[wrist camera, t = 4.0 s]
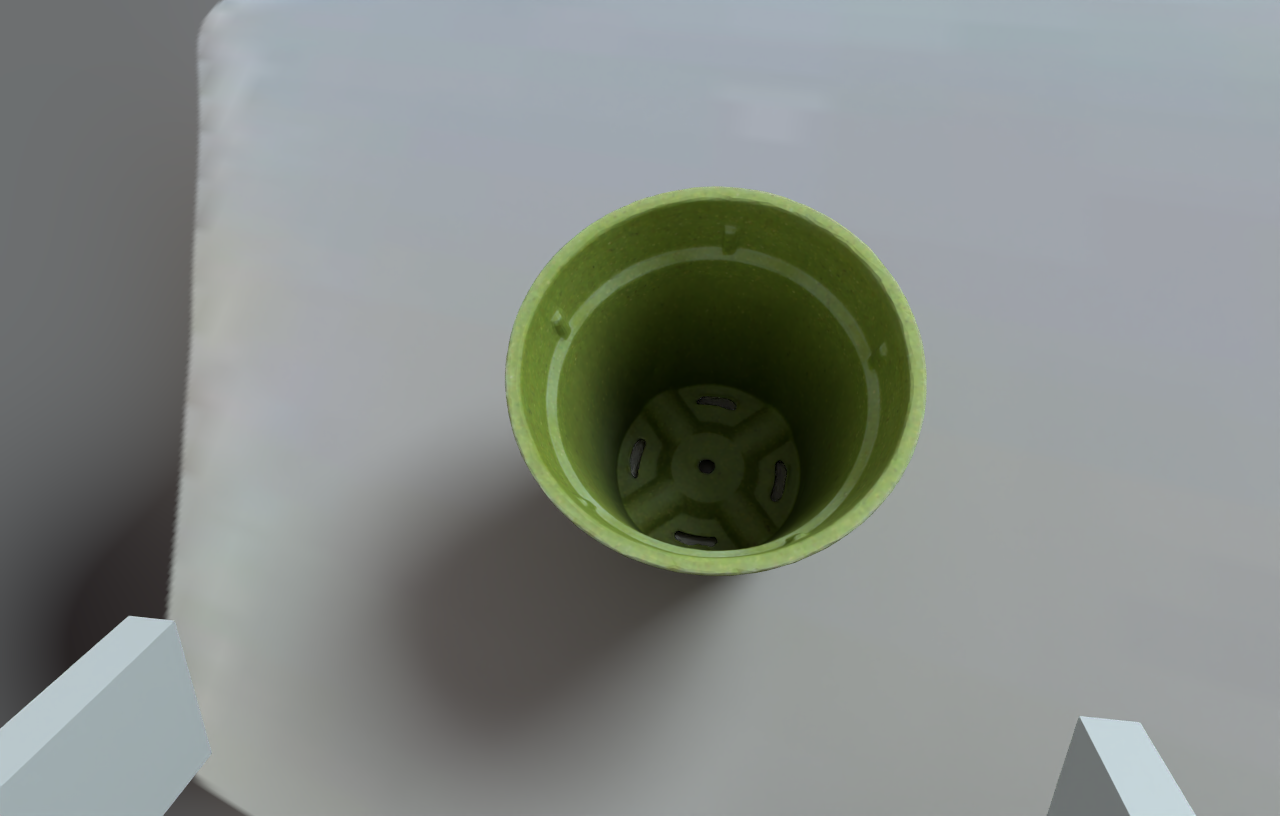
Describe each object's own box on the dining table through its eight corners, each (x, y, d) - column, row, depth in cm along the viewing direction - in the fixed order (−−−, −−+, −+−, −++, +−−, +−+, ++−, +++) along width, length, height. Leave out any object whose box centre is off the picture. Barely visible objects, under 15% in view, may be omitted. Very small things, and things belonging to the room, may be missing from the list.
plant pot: (863, 357, 26) (933, 200, 18) (847, 642, 23) (922, 605, 15) (595, 329, 28) (549, 171, 19) (543, 595, 24) (461, 539, 16)
